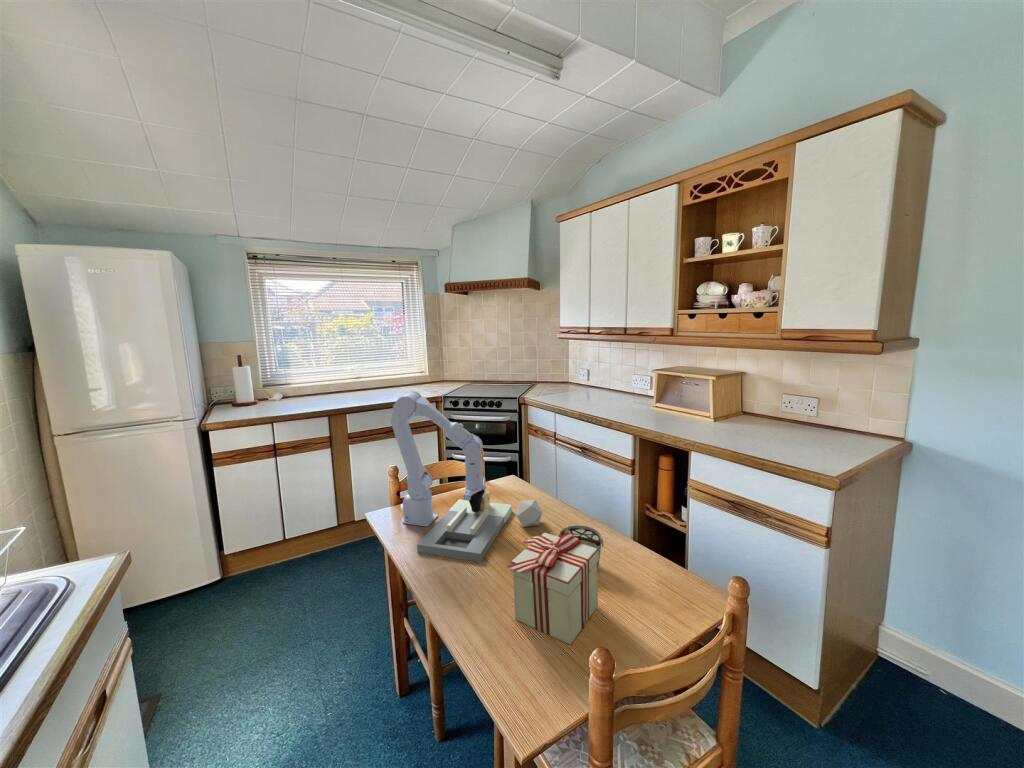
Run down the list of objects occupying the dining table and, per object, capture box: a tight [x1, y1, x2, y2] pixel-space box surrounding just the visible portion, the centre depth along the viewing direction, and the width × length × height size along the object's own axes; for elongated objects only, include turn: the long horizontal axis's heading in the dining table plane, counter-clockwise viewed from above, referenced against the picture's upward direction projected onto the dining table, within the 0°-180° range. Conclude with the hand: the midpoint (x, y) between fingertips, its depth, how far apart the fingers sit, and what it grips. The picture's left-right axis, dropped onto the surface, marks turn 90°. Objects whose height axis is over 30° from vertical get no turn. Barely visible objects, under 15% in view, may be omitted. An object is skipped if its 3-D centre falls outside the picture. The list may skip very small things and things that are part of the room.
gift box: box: [506, 532, 600, 645], centre depth 96 cm, size 17×18×17 cm
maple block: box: [471, 491, 491, 511], centre depth 145 cm, size 5×5×5 cm
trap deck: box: [416, 498, 513, 563], centre depth 136 cm, size 20×31×4 cm, turn 163°
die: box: [515, 499, 543, 528], centre depth 138 cm, size 8×9×10 cm
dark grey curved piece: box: [558, 524, 605, 575], centre depth 115 cm, size 12×6×10 cm, turn 65°
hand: (476, 511), depth 142 cm, fingers closed
